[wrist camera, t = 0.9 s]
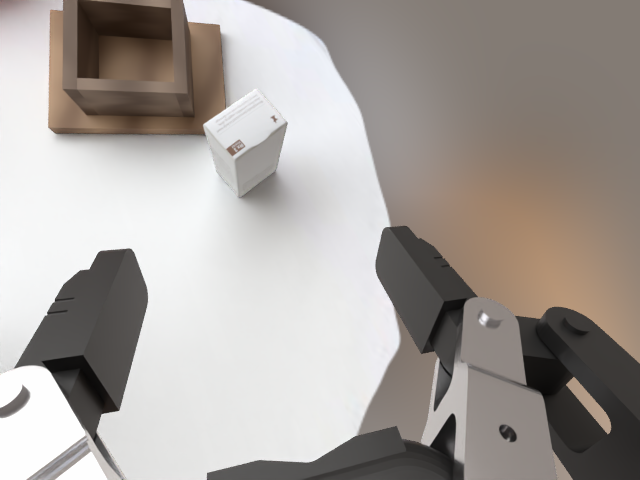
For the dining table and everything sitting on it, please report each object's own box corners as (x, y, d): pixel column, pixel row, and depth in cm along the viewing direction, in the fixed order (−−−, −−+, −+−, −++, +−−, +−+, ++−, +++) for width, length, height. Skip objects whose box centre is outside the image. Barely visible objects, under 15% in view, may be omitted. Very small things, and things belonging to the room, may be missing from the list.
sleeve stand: (55, 133, 34) (17, 102, 28) (56, 19, 35) (21, -31, 30) (227, 134, 38) (223, 108, 32) (220, 32, 40) (215, -9, 34)
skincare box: (254, 144, 38) (256, 81, 27) (278, 172, 38) (291, 120, 27) (214, 174, 37) (198, 119, 25) (239, 202, 37) (235, 161, 25)
